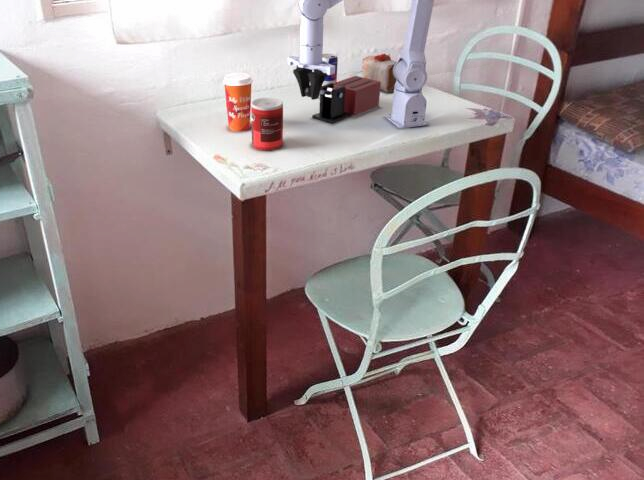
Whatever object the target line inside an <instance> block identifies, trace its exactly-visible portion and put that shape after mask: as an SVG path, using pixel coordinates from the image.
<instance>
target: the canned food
mask: <svg viewBox="0 0 644 480" xmlns="http://www.w3.org/2000/svg"><path fill="white" fill-rule="evenodd" d="M250 118H251V144H252V146H253V147H254V148H255V149H256V150H259V151H264V152H265V151H266V152H269V151H273V150H278V149H280V148H282V146H283V144H284V102H283V101H282V100H281V99H278V98H275V97H274V98H273V97H261V98H256V99H254V100H251V111H250Z"/></svg>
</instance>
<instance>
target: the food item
mask: <svg viewBox="0 0 644 480" xmlns="http://www.w3.org/2000/svg"><path fill="white" fill-rule="evenodd" d="M390 55H391V53H388V54H386V53H382V54H377V55H368V56H365V57H362V61H361V63H362V64H361V69H362V70H361V77H363V78H367V79H371V80H376V81H380V82H381V85H380V91H383V92H385V93H389V94H391V93H394V85H395V83H396V78H395V77H394V75H393V68H394V65H395V64H396V62H397V61H395V60H393V59H391V56H390Z"/></svg>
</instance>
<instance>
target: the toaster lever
mask: <svg viewBox="0 0 644 480" xmlns="http://www.w3.org/2000/svg"><path fill="white" fill-rule="evenodd" d="M332 89H335V88H328V87H327V90H320V94H324V95H325V96H326V97H329V98H331V97H332ZM304 93H305V95H306V96H305V97H307V98H311V85H309V86H307V87H306V88H305V90H304Z"/></svg>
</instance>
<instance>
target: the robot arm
mask: <svg viewBox="0 0 644 480" xmlns="http://www.w3.org/2000/svg"><path fill="white" fill-rule="evenodd" d="M342 1H344V0H299V1H298V4H297V6H298V9H299V11H300V25H299V56H295V55H291V56H288V57H287V66H294V67H295V68H294V69H293V70H292V73H293V75H294V76H295V79H296V81H297V84H298V87H299V91H300V96H301V97H302V98H304V97H307V96H306V95H305V93H304V90H305V88H306V87H307V86H309V85H311V97H310V99H311V100H312V101H313V100H317V99H319V98H320V97H319V94H320V90H321V87H322V85H323V82H324V80H325V78H326V77H327V75H332V74H335V66H334V65H331V64H329V63H327V62H325V61H322V54H324V53H323V51H324V49H323V47H324V27H325V26H324V16H325V15H326V13H327V11H328V10H329V9H331V8H333V7H335V6H336V5H338V4H339V3H341V2H342ZM434 4H435V0H411V4H410V10H409V14H408V15H409V16H408V21H407V25H406V26H407V28H406V32H405V37H404V43H403V48H402V49H401V50H400V52H399V55H398V59H397V61H395V62H396V64H395V65H394V68H393V75H394V77H395V78H396V83H395V85H394V92H393V94H392V95H393V96H392V106H391V114H385V118H386V119H387V120H388V121H390V122H391V123H392V124H393V125H394V126H396V127H397V128H399V129H406V128H414V127H424V126H428V122H426V120H425V119H426V110H427V104H428V103H427V99H426V97H425V96H424V94H423V87H424V86H425V85H426V83H427V80H428V73H427V70H426V69H427V68H426V67H427V59H426V54H425V49H426V44H427V40H428V34H429V28H430V25H431V24H430V23H431V19H432V13H433V8H434Z"/></svg>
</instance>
